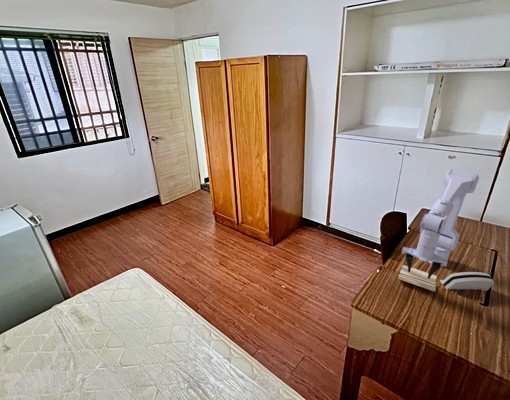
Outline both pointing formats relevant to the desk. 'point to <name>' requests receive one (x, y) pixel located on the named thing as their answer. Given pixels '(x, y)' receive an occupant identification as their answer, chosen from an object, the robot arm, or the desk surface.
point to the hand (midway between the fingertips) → (418, 273)
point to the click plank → (417, 282)
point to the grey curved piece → (468, 281)
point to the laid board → (418, 275)
